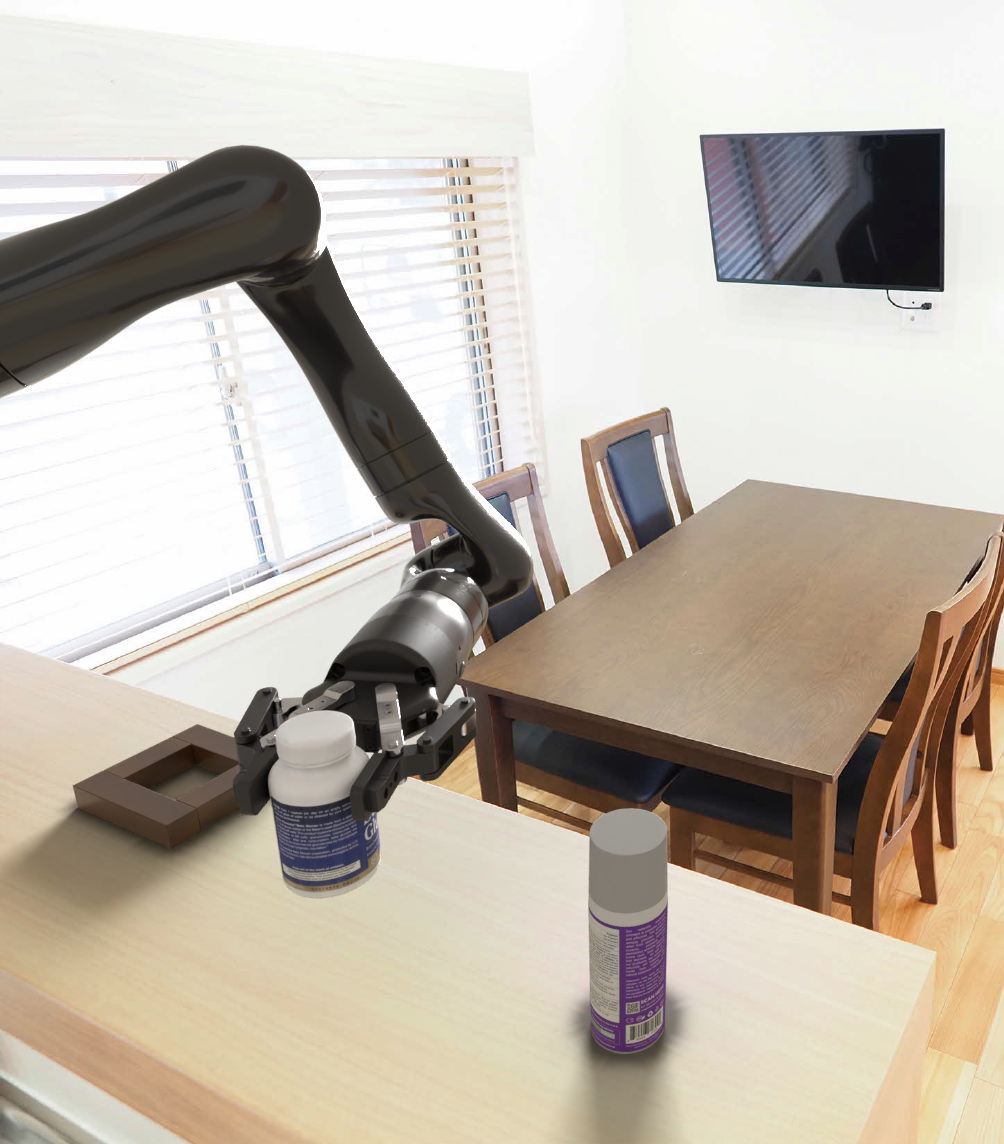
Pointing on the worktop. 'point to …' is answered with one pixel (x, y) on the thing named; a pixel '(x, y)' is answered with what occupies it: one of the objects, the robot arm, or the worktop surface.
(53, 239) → the robot arm
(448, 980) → the worktop surface
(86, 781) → the frame
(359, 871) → the pill bottle
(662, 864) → the container
